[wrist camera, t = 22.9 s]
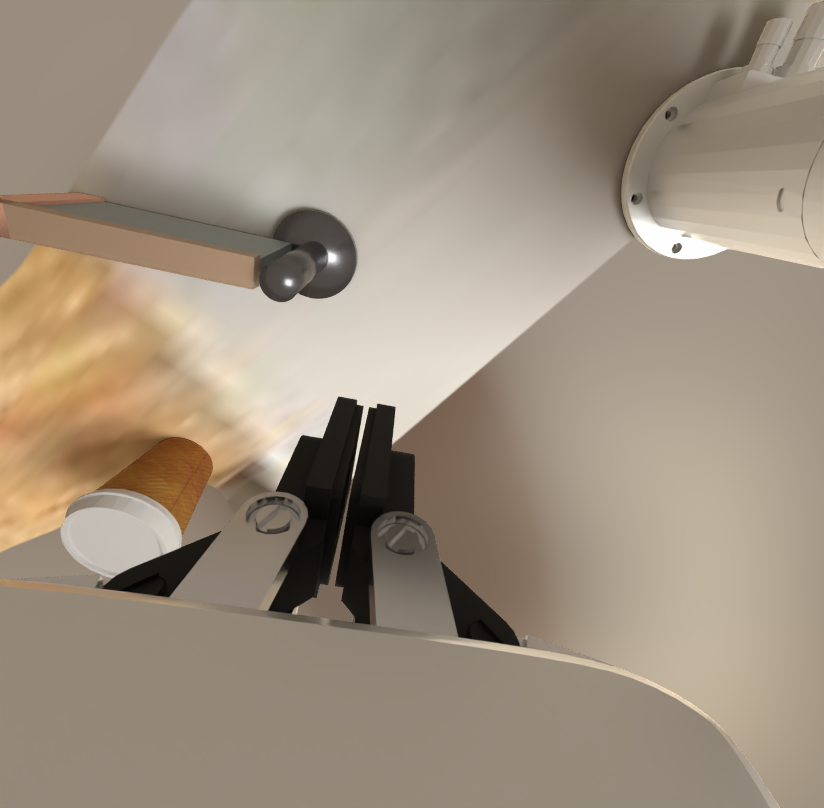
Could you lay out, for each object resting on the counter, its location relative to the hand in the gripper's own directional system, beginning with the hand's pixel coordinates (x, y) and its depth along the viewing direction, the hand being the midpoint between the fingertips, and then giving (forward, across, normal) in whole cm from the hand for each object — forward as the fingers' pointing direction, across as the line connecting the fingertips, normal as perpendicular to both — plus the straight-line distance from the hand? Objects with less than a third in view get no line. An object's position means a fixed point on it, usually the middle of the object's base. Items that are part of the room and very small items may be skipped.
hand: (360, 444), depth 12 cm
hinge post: (+27, +7, 0) cm, 28 cm away
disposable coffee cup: (+27, +20, +25) cm, 41 cm away
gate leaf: (+26, +17, 0) cm, 31 cm away
